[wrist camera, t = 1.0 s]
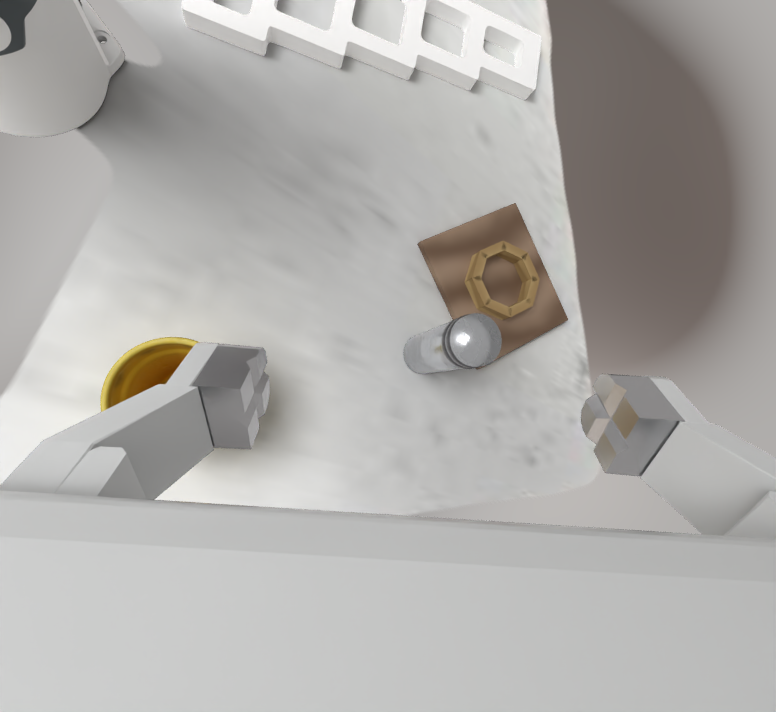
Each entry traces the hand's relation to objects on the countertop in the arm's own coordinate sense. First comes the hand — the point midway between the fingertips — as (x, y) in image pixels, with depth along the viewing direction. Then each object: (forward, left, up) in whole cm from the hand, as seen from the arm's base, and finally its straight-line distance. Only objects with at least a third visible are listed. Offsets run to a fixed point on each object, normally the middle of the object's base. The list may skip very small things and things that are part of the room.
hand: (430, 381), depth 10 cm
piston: (+3, +16, -38) cm, 41 cm away
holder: (-37, +30, -39) cm, 62 cm away
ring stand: (-1, +30, -38) cm, 48 cm away
